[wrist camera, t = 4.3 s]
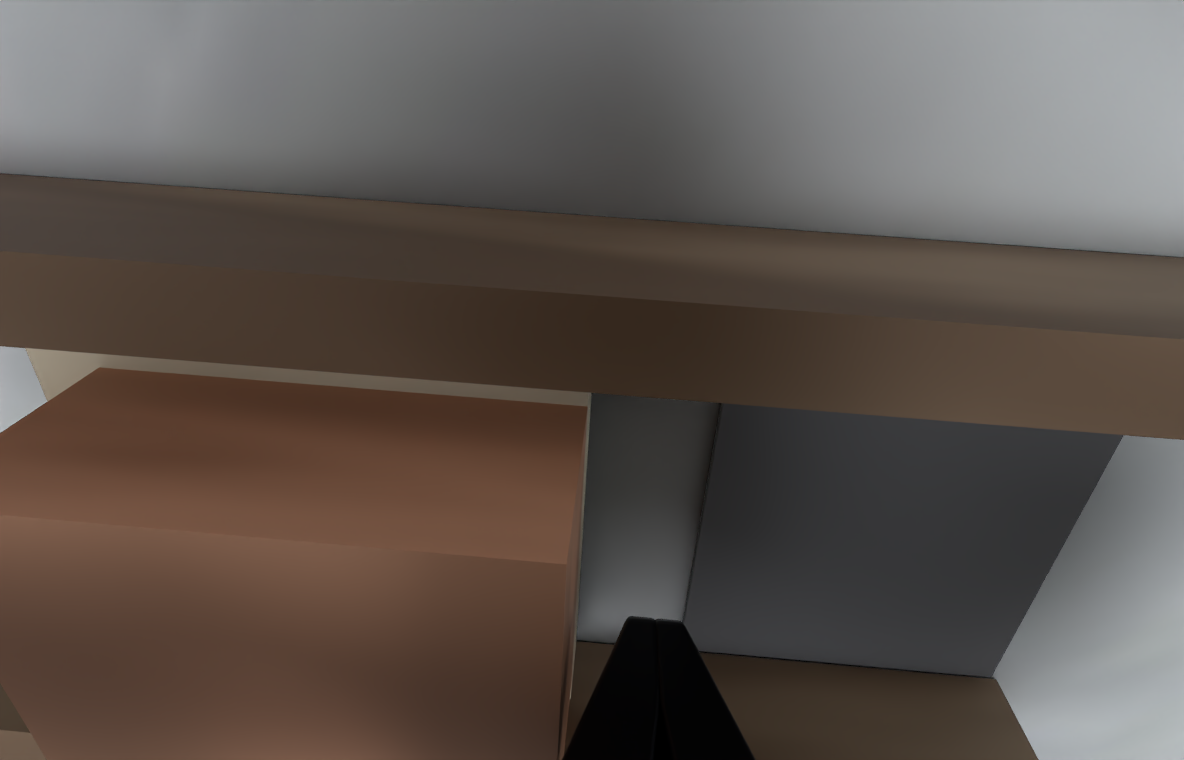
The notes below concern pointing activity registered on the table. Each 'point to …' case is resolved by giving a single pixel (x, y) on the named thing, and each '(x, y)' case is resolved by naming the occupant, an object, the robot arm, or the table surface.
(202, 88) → the table surface
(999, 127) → the table surface
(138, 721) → the block
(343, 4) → the table surface
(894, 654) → the trap pit
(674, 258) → the channel
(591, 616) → the table surface
